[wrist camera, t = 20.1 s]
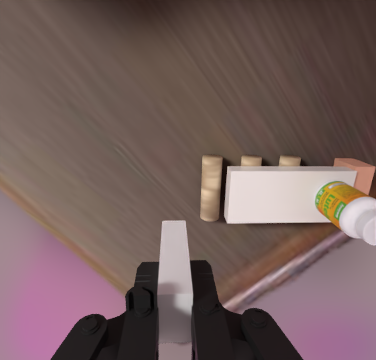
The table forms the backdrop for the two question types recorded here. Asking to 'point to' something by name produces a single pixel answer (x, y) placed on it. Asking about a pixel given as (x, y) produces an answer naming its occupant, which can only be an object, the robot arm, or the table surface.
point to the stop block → (358, 172)
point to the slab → (278, 192)
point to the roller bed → (213, 180)
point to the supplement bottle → (348, 209)
